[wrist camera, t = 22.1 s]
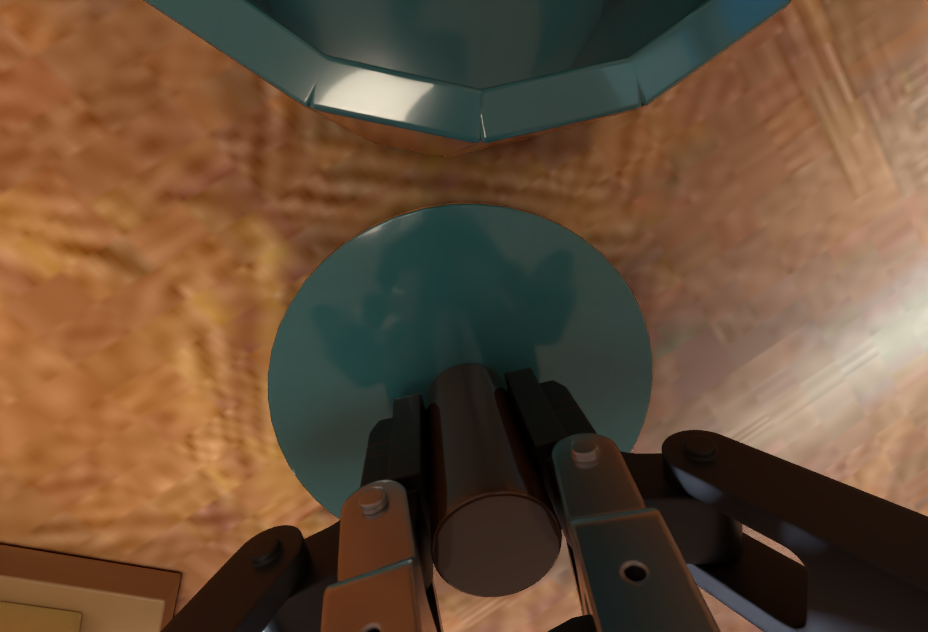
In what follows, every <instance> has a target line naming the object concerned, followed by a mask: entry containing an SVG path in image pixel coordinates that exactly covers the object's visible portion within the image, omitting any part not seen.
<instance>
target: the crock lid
mask: <svg viewBox="0 0 928 632" xmlns="http://www.w3.org/2000/svg"><path fill="white" fill-rule="evenodd" d="M525 368H531V369H532V371H533V373H534V375H535V377H536V378H537V380H538V382H539V383H543V382H547V381H551V380H554V381H556V382H558V383H560V384H562V385H564V386H566V387H567V389H568V390H569V392H570V393H571V395H572V396H573V399H575V401H576V402H577V404H578V406H579V407H580V408H581V410H582V411H583V413H584V414H585V416H586V417H587V419H588V421H589V422H590V424H591V425H592V427H593V428H594V430H595V431H596V433H597V434H599V435H603V436H605V437H607V438H609V439H611V440H612V441H614V442H615V443H616V445H617V446H618V448H619V450H620V451H622V452H627V453H630V452H631V450H632V448H633V447H634V445H635V443H636V441H637V438H638V436H639V434H640V431H641V429H642V426H643V424H644V421H645V417H646V413H647V410H648V406H649V402H650V395H651V387H652V353H651V346H650V340H649V334H648V331H647V328H646V324H645V321H644V318H643V315H642V312H641V310H640V308H639V306H638V303H637V301H636V299H635V297H634V295H633V293H632V291H631V290H630V288H629V287H628V285H627V284H626V282H625V281H624V279H623V278H622V276H621V275H620V273H619V272H618V271H617V270H616V269H615V268H614V266H613V265H612V264H611V263H610V262H609V261H608V260H607V259H606V258H605V257H604V256H603V255H602V253H600V252H599V251H598V250H597V249H595V248H594V247H593V246H592V245H590V244H589V243H588V242H587V241H586V240H584V239H583V238H582V237H580V236H579V235H577V234H575V233H573V232H572V231H570V230H568V229H567V228H565V227H563V226H562V225H560V224H558V223H556V222H553V221H551V220H548V219H546V218H544V217H541V216H539V215H536V214H534V213H532V212H528V211H524V210H520V209H517V208H513V207H509V206H505V205H497V204H488V203H480V202H464V203H445V204H439V205H432V206H426V207H421V208H417V209H414V210H410V211H407V212H404V213H400V214H397V215H394V216H392V217H390V218H387V219H385V220H383V221H381V222H378V223H376V224H374V225H372V226H370V227H368V228H366V229H365V230H363V231H362V232H360V233H358V234H357V235H355V236H354V237H352V238H350V239H349V240H347V241H346V242H345V243H343V244H342V245H341V246H340V247H339V248H337V249H336V250H335V251H334V252H333V253H331V254H330V255H329V256H328V257H327V258H326V259H325V260H324V261H323V262H322V263H321V264H320V265H319V266H318V267H317V268H316V269H315V270H314V272H313V273H312V274H311V275H310V276H309V277H308V278H307V279H306V280H305V282H304V283H303V285H302V286H301V288H300V289H299V291H298V292H297V294H296V295H295V297H294V298H293V300H292V301H291V302H290V304H289V306H288V308H287V310H286V313H285V315H284V317H283V319H282V321H281V323H280V325H279V328H278V331H277V334H276V337H275V341H274V344H273V347H272V351H271V357H270V364H269V371H268V402H269V408H270V414H271V421H272V425H273V428H274V431H275V434H276V437H277V441H278V444H279V446H280V448H281V450H282V452H283V454H284V456H285V458H286V461H287V463H288V465H289V466H290V468H291V469H292V471H293V472H294V474H295V475H296V477H297V478H298V480H299V481H300V483H301V484H302V485H303V486H304V487H305V488H306V490H307V491H308V492H309V493H310V494H311V495H312V496H313V497H314V498H315V500H316V501H318V502H319V503H320V504H321V505H322V506H323V507H325V508H326V509H327V510H328V511H329V512H330V513H331V514H333V515H334V516H336V517H337V518H339V519H340V516H341V509H342V506H343V504H344V503H345V501H346V500H347V499H348V497H349V496H350V495H351V494H352V493H354V492H355V491H356V490H358V489H359V488H360V484H361V479H362V473H363V467H364V462H365V457H366V450H367V447H368V439H369V434H370V432H371V430H372V429H373V428H374V426H375V425H376V424H377V423H378V421H379V420H383V419H388V418H392V417H393V407H394V399H396V398H400V397H404V396H409V395H413V394H417V393H421V395H422V397H423V401H424V404H425V408H426V418H427V448H428V477H429V511H430V542H431V556H432V561H433V563H434V566H435V568H436V569H437V571H438V573H439V574H440V576H441V577H442V578H443V579H444V580H445V581H446V582H447V583H448V584H449V585H451V586H452V587H454V588H455V589H457V590H459V591H461V592H464V593H467V594H470V595H474V596H480V597H500V596H505V595H510V594H513V593H517V592H519V591H522V590H524V589H526V588H528V587H530V586H532V585H533V584H535V583H536V582H538V581H539V580H540V579H541V578H542V577H544V576H545V574H546V573H547V572H548V571H549V570H550V569H551V567H552V566H553V565H554V563H555V561H556V559H557V557H558V554H559V552H560V548H561V541H562V532H561V527H560V523H559V520H558V518H557V515H556V513H555V510H554V507H553V505H552V502H551V500H550V497H549V495H548V492H547V490H546V487H545V485H544V482H543V480H542V478H541V476H540V473H539V471H538V468H537V465H536V463H535V460H534V458H533V455H532V453H531V450H530V448H529V445H528V442H527V440H526V437H525V435H524V432H523V430H522V427H521V424H520V422H519V419H518V417H517V414H516V412H515V409H514V407H513V404H512V401H511V399H510V396H509V394H508V390H507V385H506V380H505V373H508V372H512V371H517V370H521V369H525Z"/></svg>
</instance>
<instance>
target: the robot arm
mask: <svg viewBox="0 0 928 632" xmlns="http://www.w3.org/2000/svg"><path fill="white" fill-rule="evenodd" d="M505 380H506V385H507V390H508V394H509V396H510V399H511V401H512V404H513V407H514V409H515V412H516V414H517V417H518V419H519V422H520V424H521V427H522V430H523V432H524V435H525V437H526V440H527V442H528V445H529V448H530V450H531V453H532V455H533V458H534V460H535V463H536V465H537V468H538V471H539V473H540V476H541V478H542V480H543V482H544V485H545V487H546V490H547V492H548V495H549V497H550V500H551V502H552V505H553V507H554V510H555V513H556V515H557V518H558V520H559V523H560V527H561V529H562V530H563V532H564V535H565V537H566V541H567V547H568V552H569V558H570V562H571V567H572V571H573V575H574V580H575V584H576V589H577V593H578V597H579V602H580V606H581V611H582V615H583V616H579V617H575V618H572V619H570V620H568V621H566V622H564V623H562V624H561V625H559V626H557V627H555V628H553V629H552V630H550V631H548V632H721V631H720V629H719V627H718V625H717V623H716V621H715V619H714V617H713V616H712V614H711V612H710V610H709V608H708V606H707V604H706V602H705V600H704V598H703V596H702V594H701V592H700V590H699V588H698V586H699V587H701V588H702V589H703V590H705V591H706V592H708V593H709V594H711V595H712V596H713V597H715V598H716V599H718V600H719V601H721V602H722V603H723V604H725V605H726V606H728V607H729V608H731V609H732V610H733V611H735V612H736V613H738V614H739V615H741V616H742V617H743V618H745V619H746V620H748V621H749V622H751V623H752V624H753V625H755V626H756V627H758V628H759V629H761V630H762V631H764V632H928V517H927V516H925V515H922V514H920V513H917V512H915V511H912V510H910V509H907V508H905V507H902V506H900V505H897V504H894V503H892V502H889V501H887V500H884V499H882V498H879V497H877V496H874V495H872V494H869V493H867V492H864V491H862V490H859V489H856V488H854V487H851V486H849V485H846V484H844V483H841V482H839V481H836V480H834V479H831V478H829V477H826V476H824V475H821V474H819V473H816V472H813V471H811V470H808V469H806V468H803V467H801V466H798V465H796V464H793V463H791V462H788V461H786V460H783V459H781V458H778V457H776V456H773V455H770V454H768V453H765V452H763V451H760V450H758V449H755V448H753V447H750V446H748V445H745V444H743V443H740V442H738V441H735V440H732V439H730V438H727V437H725V436H722V435H720V434H717V433H713V432H709V431H703V430H688V431H682V432H678V433H675V434H673V435H671V436H669V437H668V438H667V439H666V440H665V441H664V442H663V445H662V453H660V454H634V453H627V452H622V451H620V450H619V448H618V446H617V445H616V443H615V442H614V441H612V440H611V439H609V438H607V437H605V436H603V435H599V434H597V433H596V431H595V430H594V428H593V427H592V425H591V424H590V422H589V421H588V419H587V417H586V416H585V414H584V413H583V411H582V410H581V408H580V407H579V406H578V404H577V402H576V401H575V399H573V396H572V395H571V393H570V392H569V390H568V389H567V387H566V386H564V385H562V384H560V383H558V382H556V381H554V380H551V381H547V382H543V383H539V382H538V380H537V378H536V377H535V375H534V373H533V371H532V369H531V368H525V369H521V370H517V371H512V372H508V373H505ZM742 524H744V525H746V526H748V527H749V528H751V529H753V530H755V531H757V532H759V533H761V534H762V535H764V536H766V537H768V538H770V539H772V540H774V541H776V542H777V543H779V544H781V545H783V546H785V547H786V548H788V549H789V550H791V551H792V552H793V553H794V554H795V555H796V556H797V557H798V558H799V559H800V560H801V561H802V563H803V564H804V566H803V565H801V564H799V563H797V562H795V561H794V560H792V559H790V558H788V557H786V556H785V555H783V554H781V553H779V552H777V551H775V550H774V549H772V548H770V547H768V546H766V545H765V544H763V543H761V542H759V541H757V540H755V539H754V538H752V537H750V536H748V535H746V534H745V533H743V532H742ZM697 585H698V586H697ZM160 632H444V631H443V626H442V621H441V615H440V610H439V604H438V599H437V594H436V589H435V585H434V582H433V561H432V556H431V542H430V511H429V477H428V448H427V418H426V408H425V404H424V401H423V397H422V395H421V393H417V394H413V395H409V396H404V397H400V398H396V399H394V407H393V417H392V418H388V419H383V420H379V421H378V423H377V424H376V425H375V426H374V428H373V429H372V430H371V432H370V434H369V439H368V447H367V450H366V457H365V462H364V467H363V473H362V479H361V484H360V488H359V489H358V490H356V491H355V492H354V493H352V494H351V495H350V496H349V497H348V499H347V500H346V501H345V503H344V504H343V506H342V509H341V516H340V520H339V521H338V522H337V523H335V524H334V525H332V526H330V527H328V528H326V529H324V530H322V531H320V532H318V533H316V534H314V535H312V536H310V537H308V538H305V539H304V538H303V536H302V533H301V531H300V530H299V529H298V528H296V527H294V526H288V525H284V526H277V527H273V528H270V529H268V530H265V531H263V532H261V533H259V534H257V535H256V536H254V537H253V538H251V539H250V540H249V541H247V542H246V543H245V544H244V545H243V546H242V547H241V548H240V549H239V550H238V551H237V552H236V553H235V554H234V555H233V556H232V557H231V558H230V559H229V560H228V561H227V562H226V563H225V565H224V566H223V567H222V568H221V569H220V570H219V571H218V572H217V573H216V574H215V575H214V576H213V577H212V578H211V579H210V580H209V581H208V582H207V583H206V584H205V585H204V587H203V588H202V589H201V590H200V591H199V592H198V593H197V594H196V595H195V596H194V597H193V598H192V599H191V600H190V601H189V602H188V603H187V604H186V605H185V606H184V607H183V608H182V610H181V611H180V612H179V613H178V614H177V615H176V616H175V617H174V618H173V619H172V620H171V621H170V622H169V623H168V624H167V625H166V626H165V627H164V628H163V629H162V630H161V631H160Z"/></svg>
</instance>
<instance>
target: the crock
mask: <svg viewBox="0 0 928 632" xmlns="http://www.w3.org/2000/svg"><path fill="white" fill-rule="evenodd" d="M144 1H145V2H147V3H148V4H150V5H151V6H153V7H154V8H156V9H157V10H159V11H160V12H162V13H163V14H165V15H166V16H168V17H169V18H171V19H172V20H174V21H175V22H177V23H178V24H180V25H181V26H183V27H184V28H186V29H188V30H189V31H191V32H192V33H194V34H195V35H197V36H198V37H200V38H201V39H203V40H204V41H206V42H207V43H209V44H210V45H212V46H213V47H215V48H216V49H218V50H219V51H221V52H222V53H224V54H225V55H227V56H228V57H230V58H231V59H233V60H235V61H236V62H238V63H239V64H241V65H242V66H244V67H245V68H247V69H248V70H250V71H251V72H253V73H254V74H256V75H257V76H259V77H260V78H262V79H263V80H265V81H266V82H268V83H269V84H271V85H272V86H274V87H275V88H277V89H279V90H280V91H282V92H283V93H285V94H286V95H288V96H289V97H291V98H292V99H294V100H295V101H297V102H298V103H300V104H301V105H303V106H304V107H306V108H308V109H310V110H312V111H314V112H316V113H318V114H319V115H321V116H323V117H325V118H327V119H329V120H331V121H333V122H334V123H336V124H338V125H340V126H342V127H344V128H346V129H348V130H349V131H351V132H353V133H355V134H357V135H359V136H361V137H363V138H365V139H366V140H368V141H370V142H373V143H376V144H381V145H386V146H391V147H396V148H401V149H405V150H409V151H415V152H421V153H426V154H431V155H436V156H441V157H444V156H447V157H449V156H453V155H458V154H462V153H467V152H471V151H476V150H480V149H485V148H489V147H494V146H498V145H503V144H507V143H512V142H516V141H520V140H523V139H527V138H531V137H535V136H539V135H543V134H546V133H550V132H554V131H558V130H562V129H565V128H569V127H573V126H577V125H581V124H585V123H588V122H592V121H596V120H600V119H604V118H607V117H611V116H615V115H619V114H623V113H627V112H630V111H634V110H637V109H638V108H640V107H643V106H647V105H648V104H650V103H651V102H653V101H654V100H656V99H657V98H658V97H660V96H661V95H663V94H664V93H665V92H667V91H668V90H670V89H671V88H673V87H674V86H675V85H677V84H678V83H680V82H681V81H682V80H684V79H685V78H687V77H688V76H690V75H691V74H692V73H694V72H695V71H697V70H698V69H700V68H701V67H702V66H704V65H705V64H707V63H708V62H709V61H711V60H712V59H714V58H715V57H717V56H718V55H719V54H721V53H722V52H724V51H725V50H726V49H728V48H729V47H731V46H732V45H734V44H735V43H736V42H738V41H739V40H741V39H742V38H744V37H745V36H746V35H748V34H749V33H751V32H752V31H753V30H755V29H756V28H758V27H759V26H761V25H762V24H763V23H765V22H766V21H768V20H769V19H770V18H772V17H773V16H775V15H776V14H778V13H779V12H780V11H782V10H783V9H785V8H786V7H787V6H788V5H789V3H790V1H791V0H144Z"/></svg>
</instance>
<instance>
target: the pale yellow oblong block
mask: <svg viewBox="0 0 928 632" xmlns="http://www.w3.org/2000/svg"><path fill="white" fill-rule="evenodd" d="M81 615H82V613H80V612H73V611H66V610H59V609H52V608H45V607H38V606H31V605H24V604H17V603H10V602H3V601H0V632H79V631H80V623H81Z"/></svg>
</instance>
